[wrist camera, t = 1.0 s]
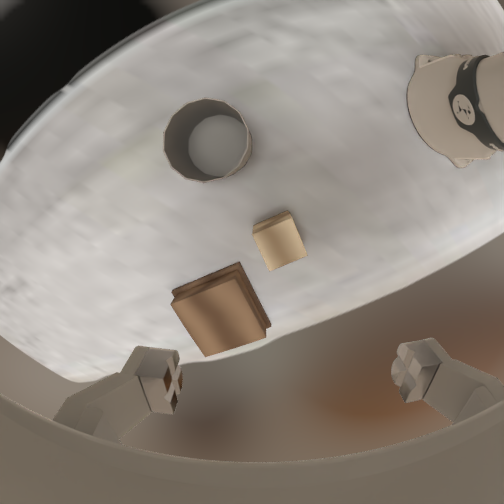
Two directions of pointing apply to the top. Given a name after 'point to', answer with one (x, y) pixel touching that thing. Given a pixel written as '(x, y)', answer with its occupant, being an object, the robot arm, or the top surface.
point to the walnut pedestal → (221, 310)
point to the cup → (207, 140)
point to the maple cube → (278, 240)
